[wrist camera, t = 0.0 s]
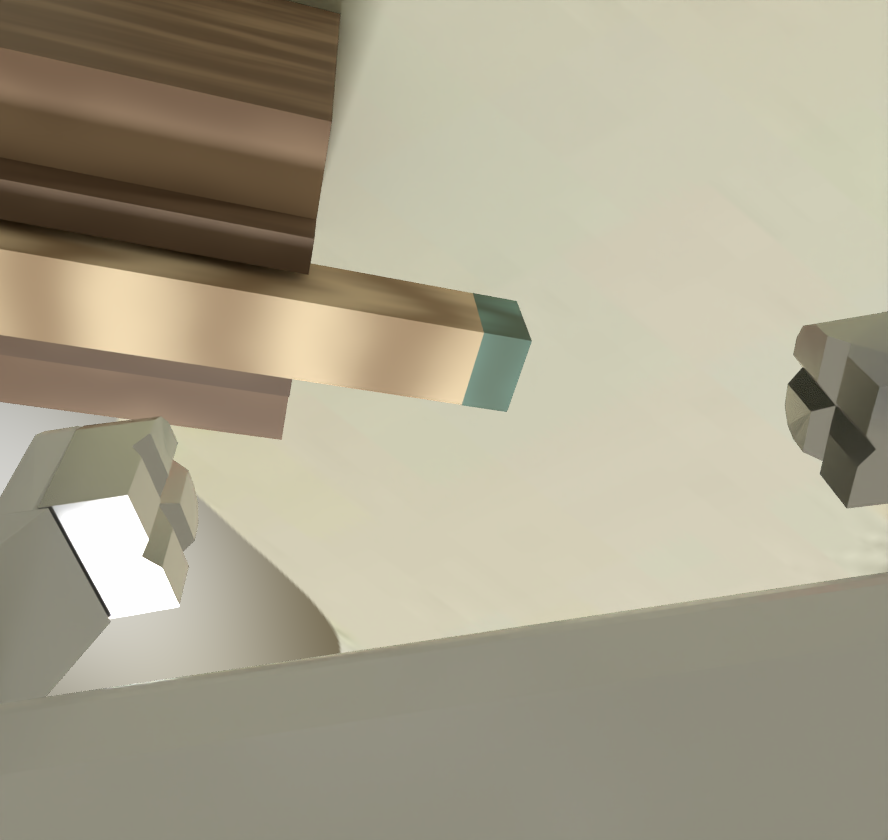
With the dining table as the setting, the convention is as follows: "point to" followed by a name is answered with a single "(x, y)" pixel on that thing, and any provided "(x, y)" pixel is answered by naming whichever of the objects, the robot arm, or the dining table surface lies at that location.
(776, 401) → the dining table surface
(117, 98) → the walnut mount
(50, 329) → the oak bar
